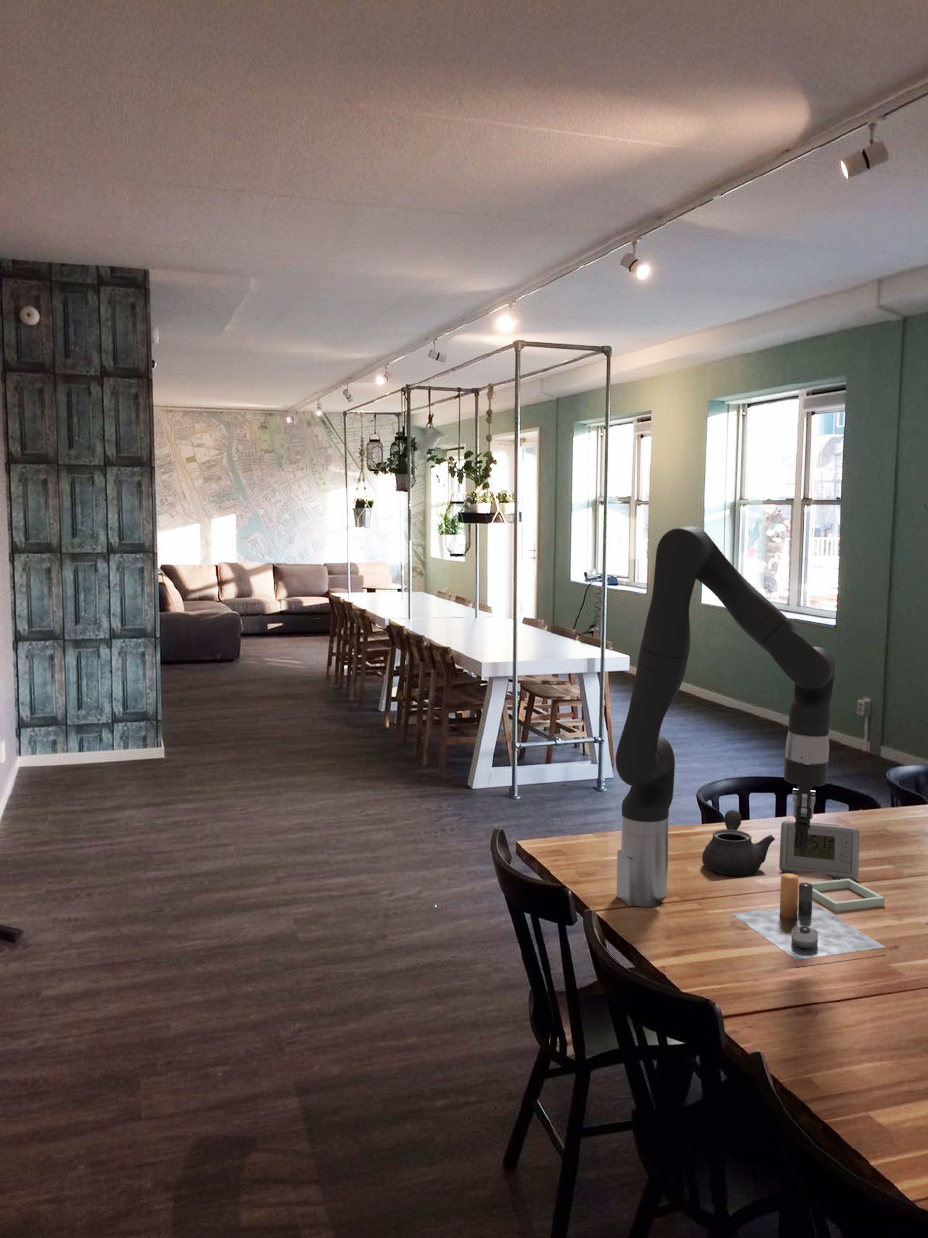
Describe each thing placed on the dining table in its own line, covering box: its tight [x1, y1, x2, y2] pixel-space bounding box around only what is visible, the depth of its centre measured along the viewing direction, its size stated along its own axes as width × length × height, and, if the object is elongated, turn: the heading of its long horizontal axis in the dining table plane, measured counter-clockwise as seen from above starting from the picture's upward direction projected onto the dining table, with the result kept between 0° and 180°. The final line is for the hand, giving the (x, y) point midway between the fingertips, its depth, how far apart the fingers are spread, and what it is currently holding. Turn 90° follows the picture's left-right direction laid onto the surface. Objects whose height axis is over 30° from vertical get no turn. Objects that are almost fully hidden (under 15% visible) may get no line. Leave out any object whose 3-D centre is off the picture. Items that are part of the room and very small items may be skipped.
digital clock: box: [778, 820, 861, 881], centre depth 221 cm, size 16×9×11 cm, turn 59°
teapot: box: [701, 809, 776, 876], centre depth 228 cm, size 19×15×10 cm
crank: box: [791, 882, 818, 948], centre depth 187 cm, size 16×4×7 cm, turn 162°
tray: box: [809, 879, 886, 913], centre depth 204 cm, size 11×11×3 cm
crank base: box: [731, 903, 887, 969], centre depth 188 cm, size 18×21×2 cm
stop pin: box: [779, 873, 800, 918], centre depth 195 cm, size 3×3×8 cm
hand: (800, 847), depth 191 cm, fingers closed
